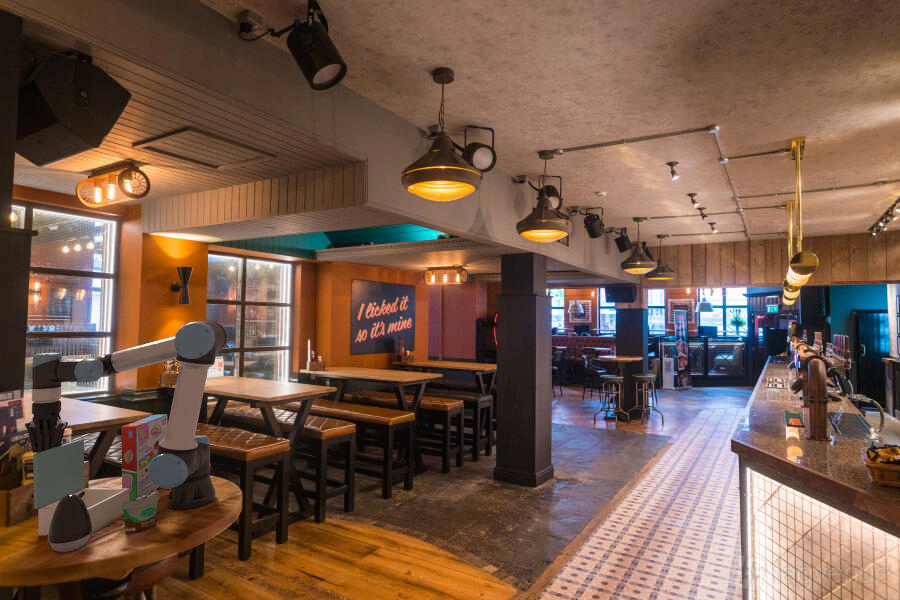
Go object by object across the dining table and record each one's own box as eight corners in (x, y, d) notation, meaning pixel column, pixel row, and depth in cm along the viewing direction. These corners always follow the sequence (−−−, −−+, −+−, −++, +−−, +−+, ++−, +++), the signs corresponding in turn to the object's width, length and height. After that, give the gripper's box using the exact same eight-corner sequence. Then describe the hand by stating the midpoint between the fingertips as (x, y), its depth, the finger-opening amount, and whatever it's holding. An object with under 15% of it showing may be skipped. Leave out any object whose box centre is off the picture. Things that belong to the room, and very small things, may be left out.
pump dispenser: (101, 539, 152) (100, 488, 152) (74, 556, 141) (73, 501, 142) (67, 539, 152) (67, 488, 153) (38, 556, 142) (38, 501, 142)
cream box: (129, 512, 173) (129, 488, 173) (88, 535, 155) (88, 509, 155) (84, 512, 174) (84, 488, 174) (38, 535, 156) (38, 508, 156)
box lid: (83, 439, 174) (80, 439, 175) (36, 454, 156) (33, 454, 156) (84, 487, 174) (81, 487, 174) (37, 508, 156) (34, 508, 156)
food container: (138, 537, 153) (138, 503, 153) (121, 535, 154) (121, 502, 155) (169, 520, 165) (169, 489, 166) (152, 519, 167) (152, 488, 167)
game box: (155, 483, 203) (154, 414, 203) (169, 483, 203) (168, 414, 203) (121, 503, 182) (120, 426, 182) (136, 502, 182) (136, 425, 182)
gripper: (75, 399, 169) (74, 470, 169) (37, 398, 170) (37, 470, 170) (56, 403, 162) (55, 478, 161) (17, 402, 163) (16, 477, 162)
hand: (46, 474), depth 165 cm, fingers closed
